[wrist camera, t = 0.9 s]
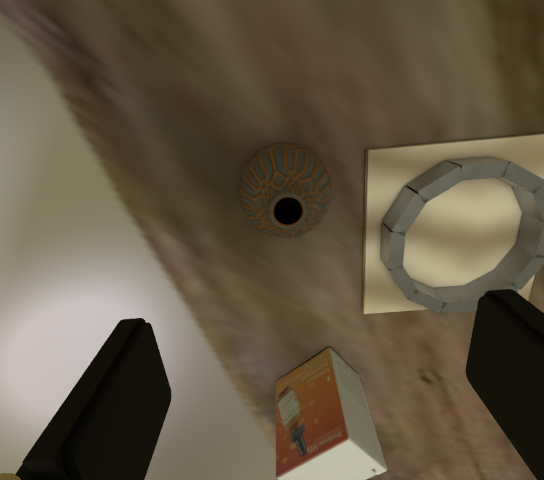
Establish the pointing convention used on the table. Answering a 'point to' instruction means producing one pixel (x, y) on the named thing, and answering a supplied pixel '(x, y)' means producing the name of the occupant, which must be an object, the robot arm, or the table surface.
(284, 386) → the small box
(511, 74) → the table surface
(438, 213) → the birch board
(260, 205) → the vase
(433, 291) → the ring collar
